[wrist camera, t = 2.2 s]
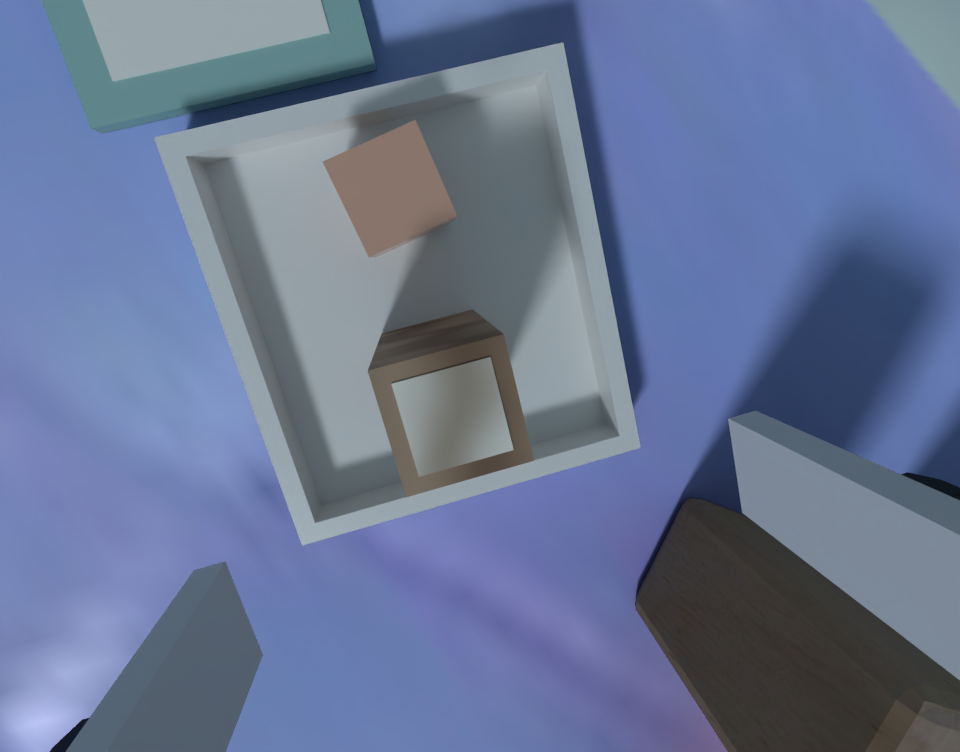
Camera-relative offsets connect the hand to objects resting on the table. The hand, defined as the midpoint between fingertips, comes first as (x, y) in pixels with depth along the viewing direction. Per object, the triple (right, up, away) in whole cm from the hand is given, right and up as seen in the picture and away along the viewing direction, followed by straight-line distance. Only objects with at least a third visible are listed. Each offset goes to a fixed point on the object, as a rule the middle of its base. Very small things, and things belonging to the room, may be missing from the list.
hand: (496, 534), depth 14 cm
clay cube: (-6, +15, +19) cm, 25 cm away
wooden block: (+17, -11, +29) cm, 35 cm away
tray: (-4, +9, +22) cm, 24 cm away
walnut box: (-3, +5, +22) cm, 23 cm away
